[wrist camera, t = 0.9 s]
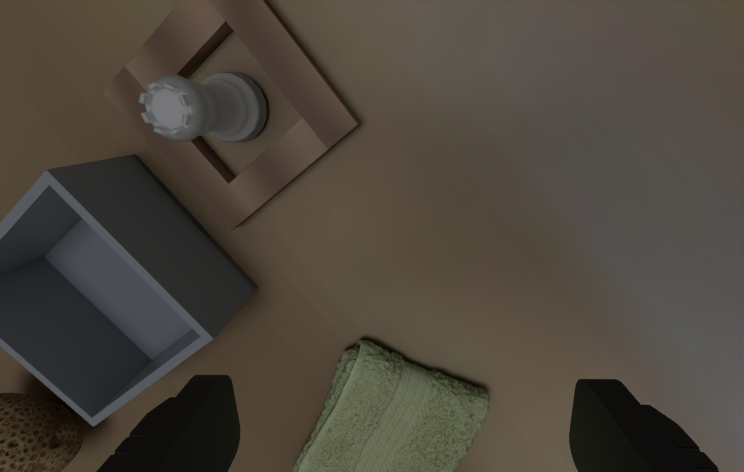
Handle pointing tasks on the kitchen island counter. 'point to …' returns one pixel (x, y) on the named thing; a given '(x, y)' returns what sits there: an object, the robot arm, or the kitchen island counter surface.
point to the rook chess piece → (205, 107)
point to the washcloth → (392, 417)
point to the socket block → (282, 63)
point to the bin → (109, 283)
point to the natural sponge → (36, 434)
